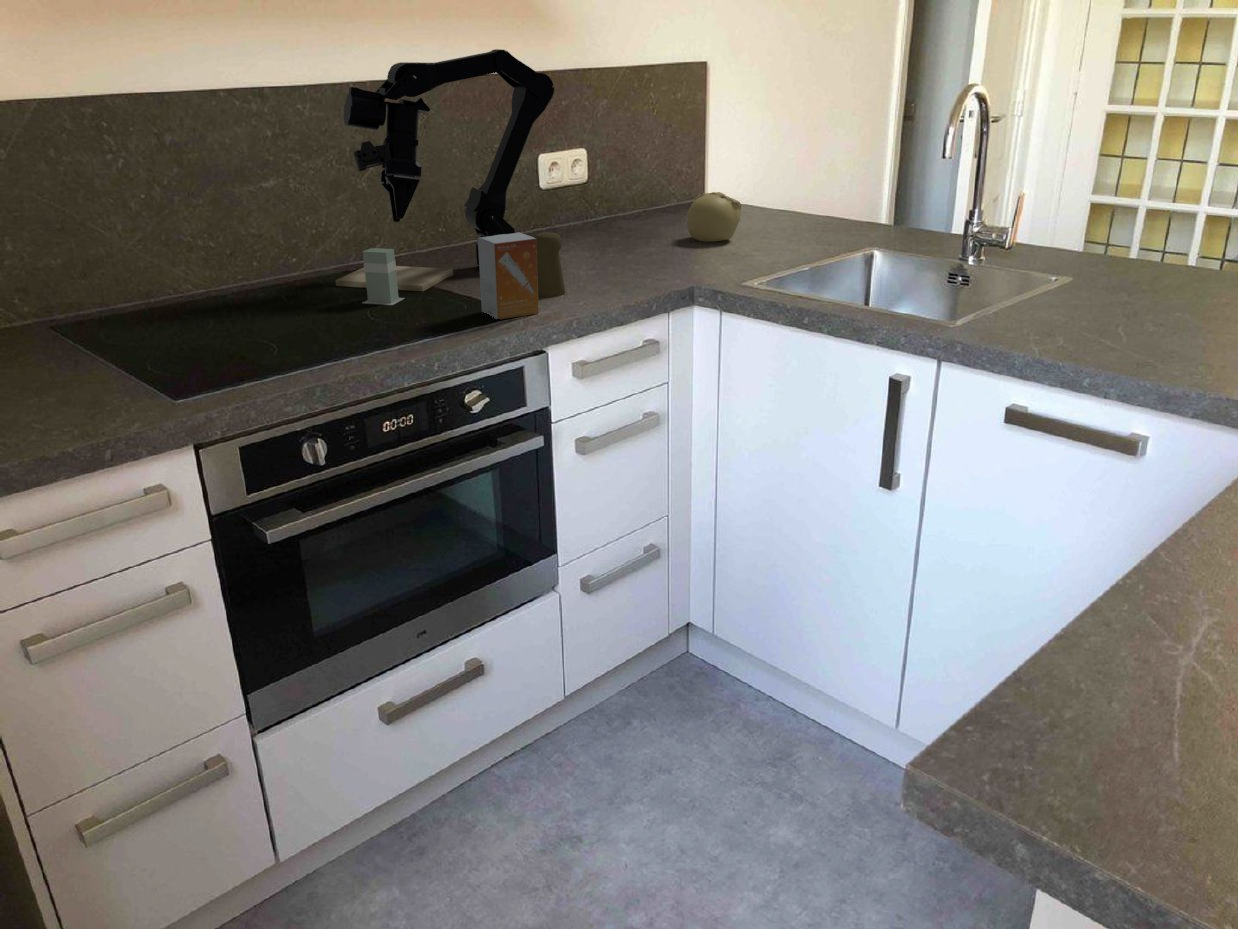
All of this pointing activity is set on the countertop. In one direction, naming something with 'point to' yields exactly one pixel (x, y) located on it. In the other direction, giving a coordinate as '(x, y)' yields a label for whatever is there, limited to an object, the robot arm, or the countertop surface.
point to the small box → (508, 275)
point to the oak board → (402, 278)
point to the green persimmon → (713, 217)
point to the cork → (549, 265)
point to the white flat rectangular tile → (384, 303)
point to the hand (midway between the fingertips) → (398, 220)
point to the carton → (380, 275)
